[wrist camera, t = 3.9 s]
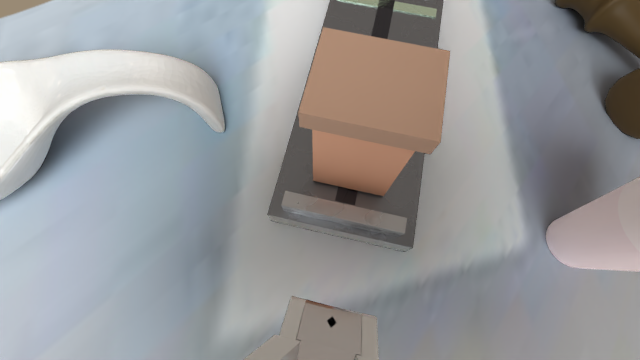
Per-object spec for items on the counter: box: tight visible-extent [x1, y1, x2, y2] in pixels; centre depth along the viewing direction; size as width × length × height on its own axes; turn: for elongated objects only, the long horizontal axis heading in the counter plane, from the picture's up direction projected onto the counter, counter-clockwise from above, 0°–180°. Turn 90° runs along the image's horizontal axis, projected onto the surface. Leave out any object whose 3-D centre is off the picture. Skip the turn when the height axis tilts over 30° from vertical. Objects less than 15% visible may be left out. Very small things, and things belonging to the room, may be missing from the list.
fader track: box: [267, 0, 443, 252], centre depth 26 cm, size 26×10×4 cm, turn 167°
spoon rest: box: [0, 50, 225, 200], centre depth 22 cm, size 24×12×7 cm, turn 106°
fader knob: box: [298, 27, 450, 196], centre depth 18 cm, size 5×6×9 cm
